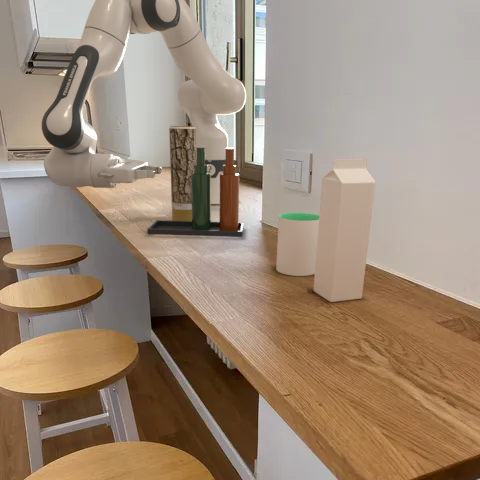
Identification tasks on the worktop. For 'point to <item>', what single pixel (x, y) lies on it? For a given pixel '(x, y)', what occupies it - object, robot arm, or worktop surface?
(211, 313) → the worktop surface
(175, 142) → the paper tube
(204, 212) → the green bottle
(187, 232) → the tray
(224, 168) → the amber bottle
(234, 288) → the worktop surface
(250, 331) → the worktop surface
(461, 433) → the worktop surface
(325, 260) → the milk
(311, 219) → the mug
